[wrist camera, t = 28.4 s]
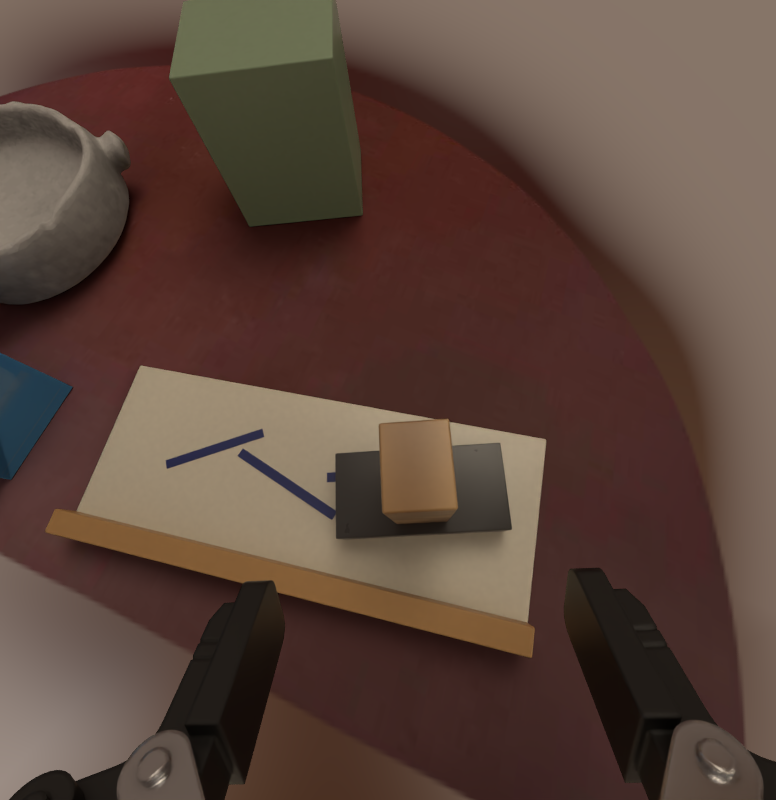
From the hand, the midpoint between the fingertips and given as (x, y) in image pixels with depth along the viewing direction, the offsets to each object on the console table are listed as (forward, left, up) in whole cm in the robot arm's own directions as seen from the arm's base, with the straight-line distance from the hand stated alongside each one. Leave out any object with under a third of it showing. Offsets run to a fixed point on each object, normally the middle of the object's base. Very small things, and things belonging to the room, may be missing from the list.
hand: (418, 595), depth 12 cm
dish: (+31, -18, -10) cm, 37 cm away
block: (+13, -24, -10) cm, 29 cm away
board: (+7, -3, -10) cm, 13 cm away
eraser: (+1, -4, -9) cm, 10 cm away
